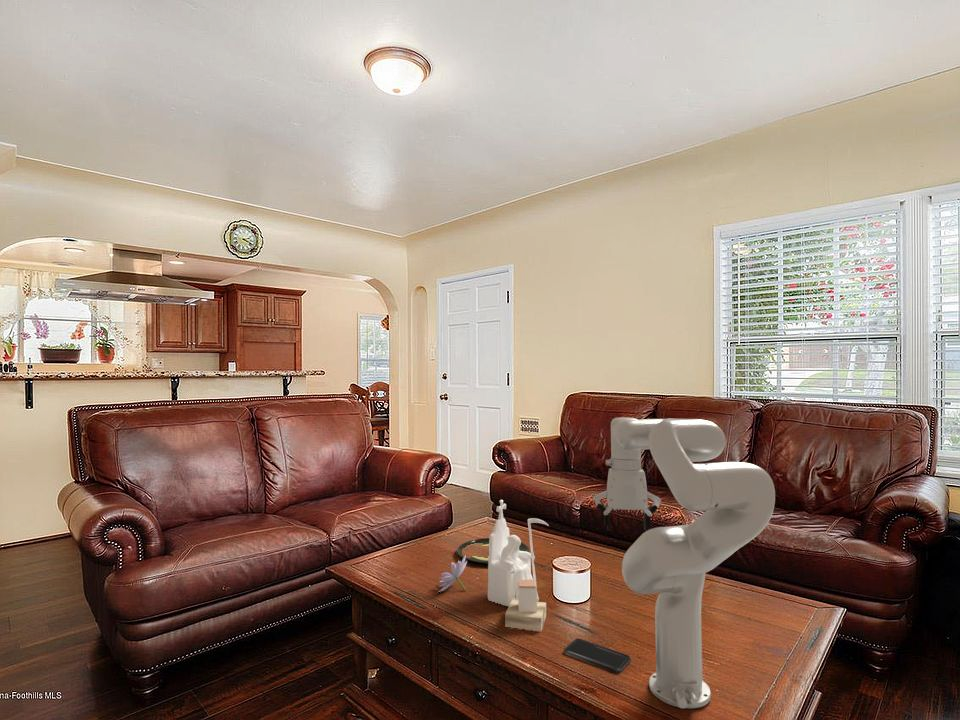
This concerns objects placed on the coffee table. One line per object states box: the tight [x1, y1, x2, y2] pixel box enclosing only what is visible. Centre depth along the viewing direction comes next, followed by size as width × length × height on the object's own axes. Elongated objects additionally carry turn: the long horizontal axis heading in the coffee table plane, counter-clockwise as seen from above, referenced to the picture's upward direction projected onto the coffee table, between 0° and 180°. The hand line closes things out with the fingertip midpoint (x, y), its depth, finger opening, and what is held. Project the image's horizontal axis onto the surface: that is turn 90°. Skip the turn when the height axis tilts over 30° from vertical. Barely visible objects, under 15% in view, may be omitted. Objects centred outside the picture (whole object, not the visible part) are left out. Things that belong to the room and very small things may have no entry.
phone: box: [563, 637, 632, 674], centre depth 129 cm, size 8×1×15 cm
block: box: [504, 599, 547, 633], centre depth 148 cm, size 10×10×4 cm
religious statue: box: [487, 499, 550, 607], centre depth 163 cm, size 17×14×30 cm
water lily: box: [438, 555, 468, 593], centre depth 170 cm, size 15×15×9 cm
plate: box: [456, 537, 531, 565], centre depth 202 cm, size 28×28×2 cm
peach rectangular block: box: [518, 579, 538, 612], centre depth 148 cm, size 5×5×7 cm
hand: (627, 529), depth 138 cm, fingers open, 9 cm apart
